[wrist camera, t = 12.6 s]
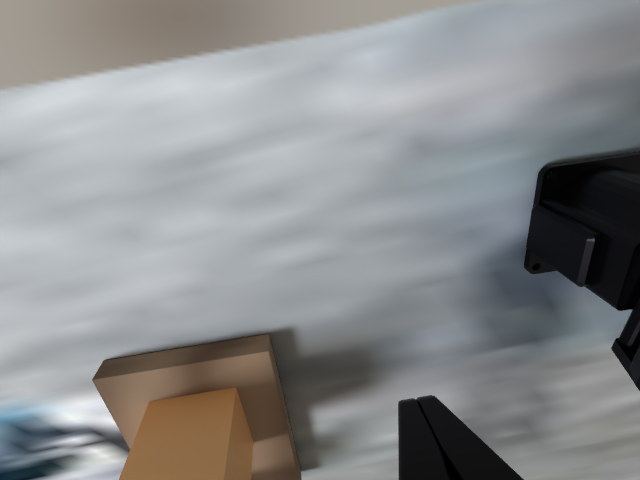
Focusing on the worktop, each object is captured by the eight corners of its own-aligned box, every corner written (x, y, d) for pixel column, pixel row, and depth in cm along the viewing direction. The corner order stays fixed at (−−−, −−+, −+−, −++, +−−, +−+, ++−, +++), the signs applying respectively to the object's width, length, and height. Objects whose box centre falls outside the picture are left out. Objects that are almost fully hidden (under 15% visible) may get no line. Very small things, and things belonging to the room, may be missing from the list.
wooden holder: (269, 333, 22) (264, 451, 15) (301, 472, 28) (307, 599, 21) (103, 360, 22) (24, 492, 15) (172, 494, 28) (139, 631, 21)
